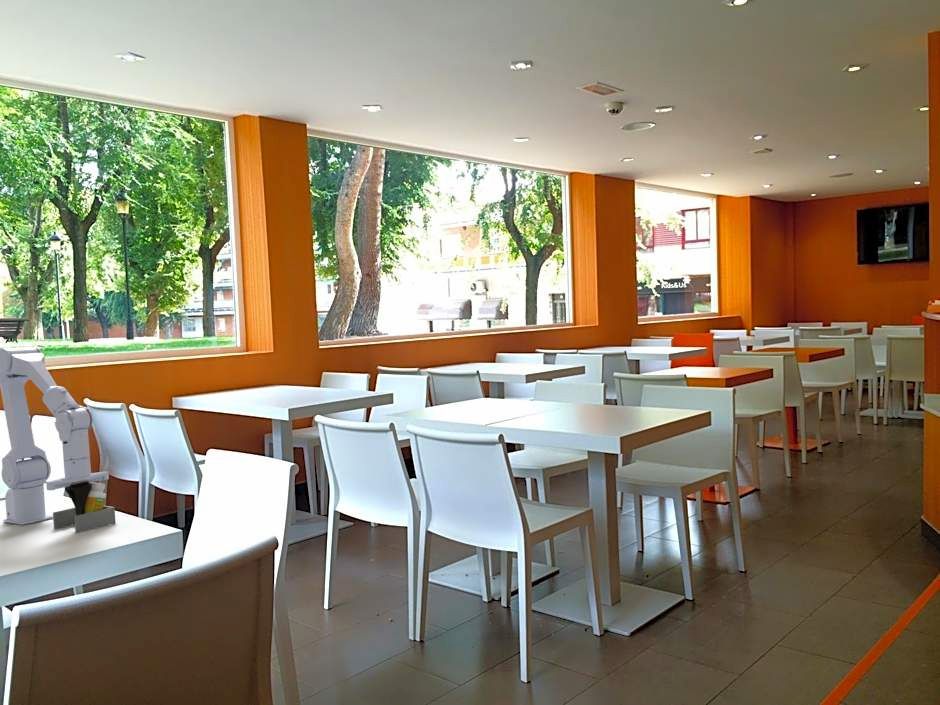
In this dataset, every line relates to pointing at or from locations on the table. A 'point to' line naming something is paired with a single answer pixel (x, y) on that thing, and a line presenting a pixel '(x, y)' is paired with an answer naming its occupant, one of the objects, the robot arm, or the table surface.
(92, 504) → the supplement bottle
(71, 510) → the crate
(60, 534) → the table surface
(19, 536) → the table surface
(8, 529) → the table surface
